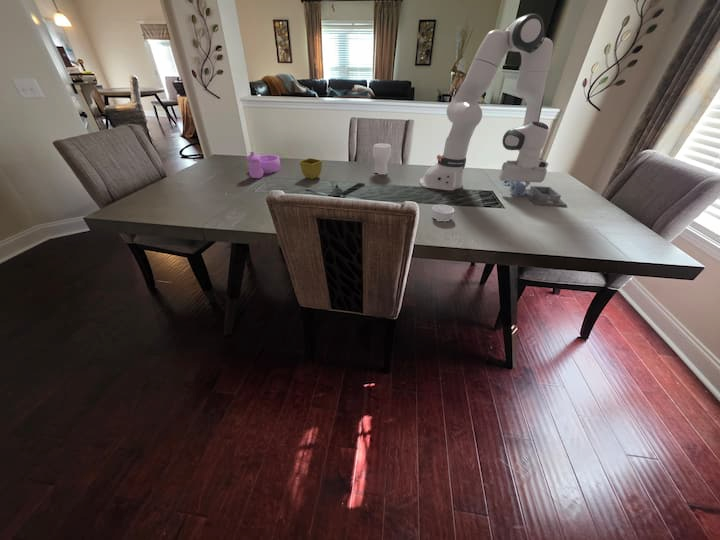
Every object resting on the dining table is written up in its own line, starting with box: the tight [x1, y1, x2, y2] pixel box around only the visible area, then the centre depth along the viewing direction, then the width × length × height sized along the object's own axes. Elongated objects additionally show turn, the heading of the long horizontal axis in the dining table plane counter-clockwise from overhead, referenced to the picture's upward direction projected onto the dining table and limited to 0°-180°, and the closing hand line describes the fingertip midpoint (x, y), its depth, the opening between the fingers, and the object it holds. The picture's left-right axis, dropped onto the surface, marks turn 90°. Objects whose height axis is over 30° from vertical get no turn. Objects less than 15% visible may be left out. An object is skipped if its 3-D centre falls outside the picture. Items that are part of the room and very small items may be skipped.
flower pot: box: [299, 157, 323, 180], centre depth 153 cm, size 9×9×9 cm
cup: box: [372, 142, 393, 175], centre depth 159 cm, size 11×11×15 cm
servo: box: [508, 181, 527, 197], centre depth 139 cm, size 4×10×6 cm, turn 174°
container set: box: [246, 151, 282, 179], centre depth 158 cm, size 25×15×13 cm, turn 171°
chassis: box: [523, 185, 568, 208], centre depth 135 cm, size 14×18×4 cm
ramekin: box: [431, 204, 455, 221], centre depth 117 cm, size 9×9×4 cm
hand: (516, 189), depth 140 cm, fingers open, 4 cm apart
